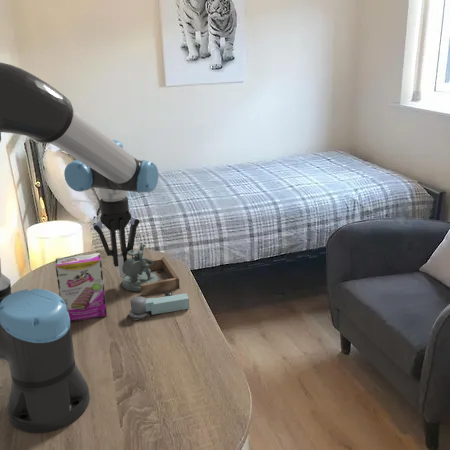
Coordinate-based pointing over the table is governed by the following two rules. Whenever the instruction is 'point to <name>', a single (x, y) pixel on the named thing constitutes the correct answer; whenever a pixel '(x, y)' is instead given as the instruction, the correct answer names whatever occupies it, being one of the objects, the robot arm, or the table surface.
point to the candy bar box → (82, 286)
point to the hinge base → (146, 314)
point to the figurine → (137, 270)
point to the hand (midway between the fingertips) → (121, 275)
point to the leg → (159, 304)
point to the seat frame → (163, 284)
